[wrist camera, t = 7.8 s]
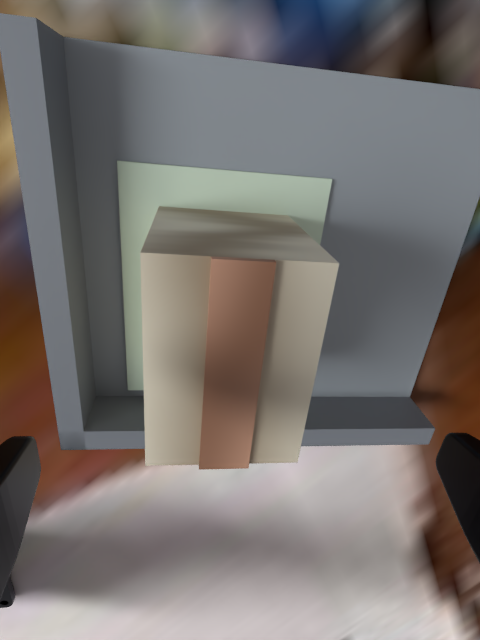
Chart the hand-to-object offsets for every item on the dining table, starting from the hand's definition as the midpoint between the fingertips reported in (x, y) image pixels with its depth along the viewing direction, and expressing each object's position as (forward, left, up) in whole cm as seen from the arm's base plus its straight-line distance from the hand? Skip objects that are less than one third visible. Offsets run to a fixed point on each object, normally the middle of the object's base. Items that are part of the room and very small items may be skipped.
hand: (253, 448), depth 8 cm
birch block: (0, 0, -9) cm, 9 cm away
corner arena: (+1, -2, -10) cm, 10 cm away
